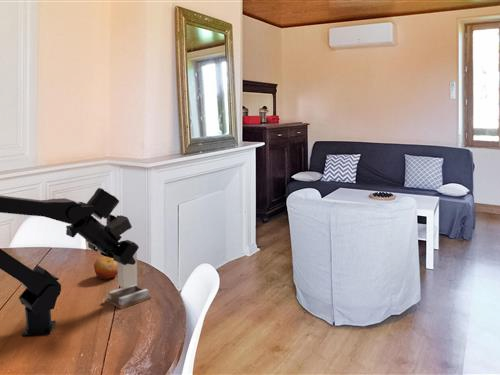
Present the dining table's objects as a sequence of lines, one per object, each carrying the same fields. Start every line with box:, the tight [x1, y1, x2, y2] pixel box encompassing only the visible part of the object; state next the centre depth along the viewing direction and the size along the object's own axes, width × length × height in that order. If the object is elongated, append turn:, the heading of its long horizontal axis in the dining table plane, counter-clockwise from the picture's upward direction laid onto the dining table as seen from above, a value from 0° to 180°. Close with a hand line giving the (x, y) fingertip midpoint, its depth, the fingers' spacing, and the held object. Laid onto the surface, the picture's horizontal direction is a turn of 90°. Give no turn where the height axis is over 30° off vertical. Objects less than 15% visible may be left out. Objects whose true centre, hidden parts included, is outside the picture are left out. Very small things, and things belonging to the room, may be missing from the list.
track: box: [105, 283, 152, 310], centre depth 128 cm, size 10×8×3 cm
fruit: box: [93, 255, 118, 281], centre depth 145 cm, size 8×8×8 cm
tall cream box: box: [117, 245, 138, 288], centre depth 127 cm, size 4×3×12 cm, turn 136°
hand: (131, 261), depth 128 cm, fingers closed on tall cream box, 3 cm apart
